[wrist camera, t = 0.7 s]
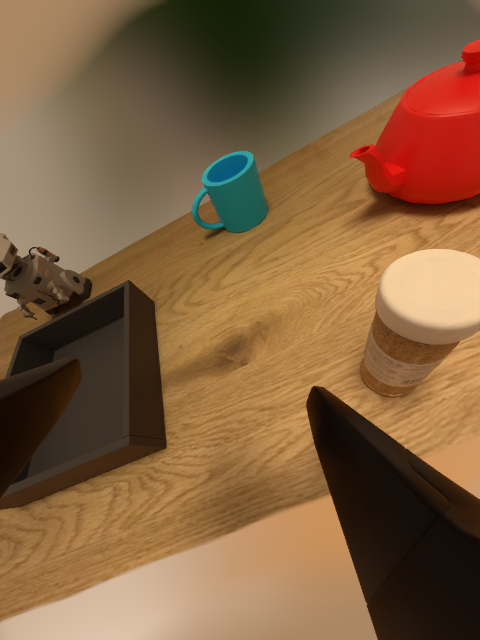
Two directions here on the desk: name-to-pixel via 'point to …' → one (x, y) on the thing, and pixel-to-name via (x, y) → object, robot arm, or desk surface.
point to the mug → (233, 193)
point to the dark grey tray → (95, 392)
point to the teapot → (432, 138)
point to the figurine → (38, 279)
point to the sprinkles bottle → (420, 317)
